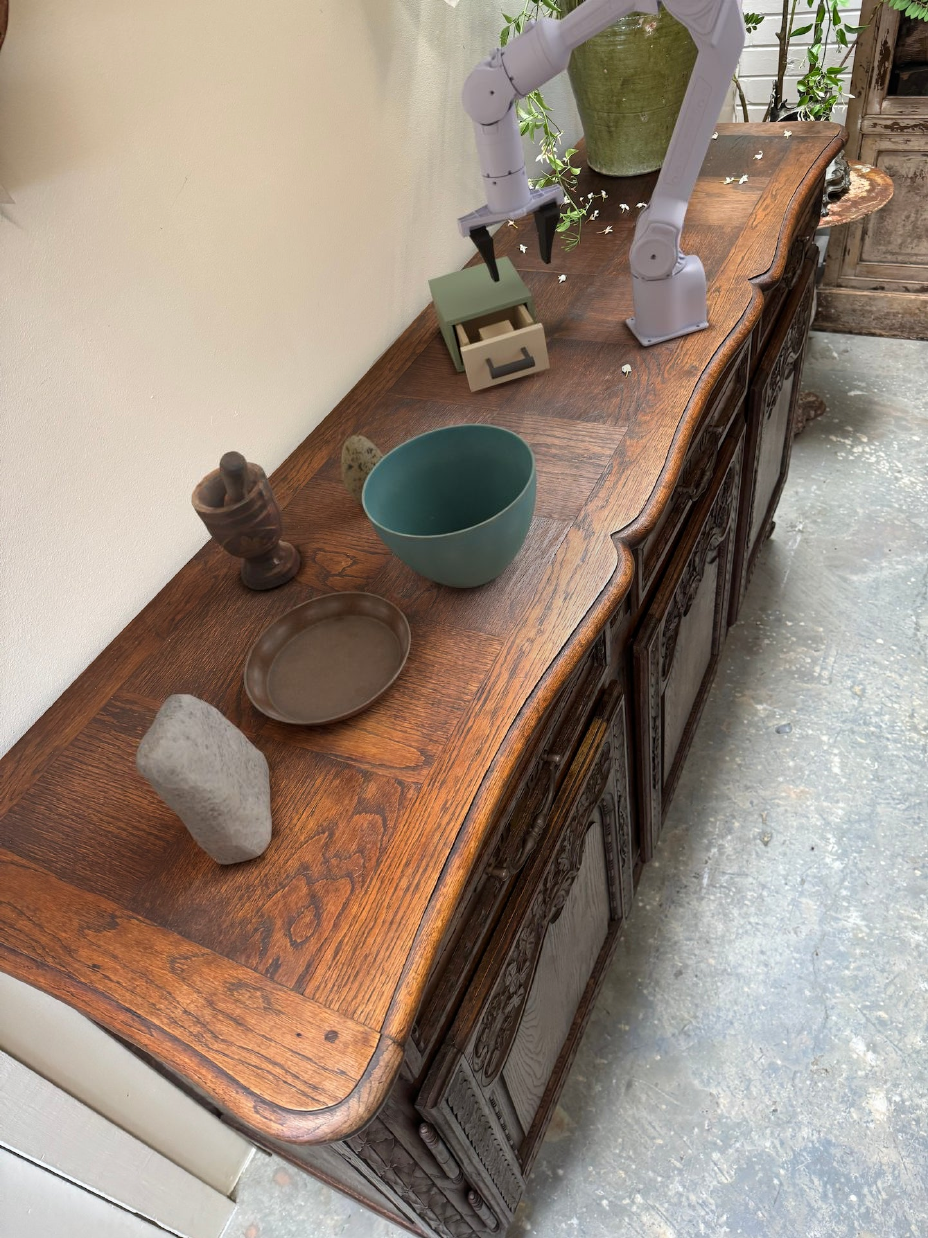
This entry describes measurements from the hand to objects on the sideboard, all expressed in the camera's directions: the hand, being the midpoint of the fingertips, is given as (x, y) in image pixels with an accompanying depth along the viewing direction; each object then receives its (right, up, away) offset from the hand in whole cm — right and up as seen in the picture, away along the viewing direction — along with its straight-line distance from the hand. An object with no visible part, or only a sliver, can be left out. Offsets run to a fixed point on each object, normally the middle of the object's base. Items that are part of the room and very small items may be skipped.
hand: (520, 270), depth 118 cm
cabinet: (-4, -6, +10) cm, 13 cm away
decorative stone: (-28, -67, -40) cm, 83 cm away
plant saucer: (-21, -55, -30) cm, 66 cm away
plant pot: (-7, -43, -23) cm, 49 cm away
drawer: (-2, -13, +2) cm, 13 cm away
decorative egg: (-19, -34, -12) cm, 41 cm away
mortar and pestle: (-30, -44, -17) cm, 56 cm away
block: (-3, -12, +1) cm, 13 cm away
